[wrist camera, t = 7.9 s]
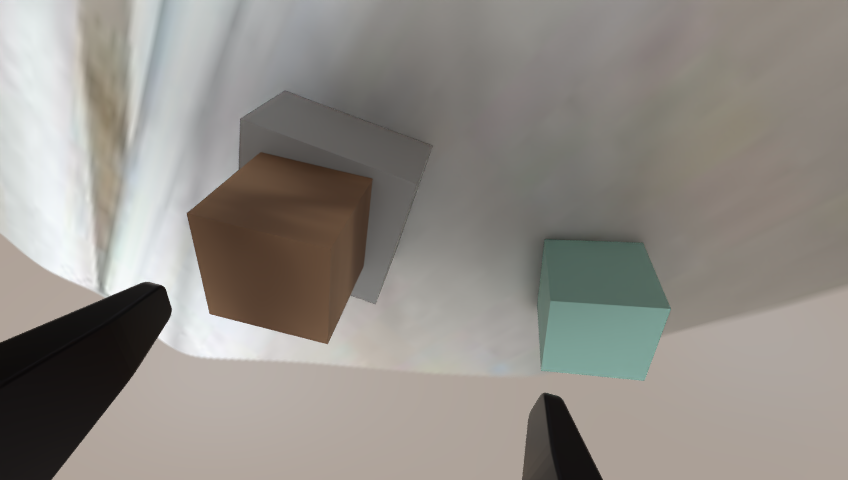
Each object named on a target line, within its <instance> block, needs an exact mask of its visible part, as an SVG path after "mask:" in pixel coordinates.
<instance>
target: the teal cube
mask: <svg viewBox="0 0 848 480" xmlns="http://www.w3.org/2000/svg"><path fill="white" fill-rule="evenodd" d="M537 309H538V326H539V343H540V360H541V371H550V372H560V373H571V374H582V375H592V376H601V377H612V378H622V379H632V380H642V381H644V380H645V377H646V375H647V372H648V369H649V366H650V364H651V361H652V359H653V356H654V353H655V350H656V348H657V345H658V342H659V340H660V337H661V334H662V332H663V329H664V326H665V324H666V321H667V318H668V316H669V313H670V310H671V308H670V306H669V303H668V301H667V299H666V296H665V294H664V291H663V289H662V287H661V284H660V282H659V280H658V277H657V275H656V273H655V270H654V268H653V266H652V263H651V261H650V258H649V256H648V254H647V251H646V249H645V247H644V244H643V243H635V242H607V241H580V240H553V239H545V240H544V249H543V258H542V267H541V276H540V285H539V294H538V303H537Z"/></svg>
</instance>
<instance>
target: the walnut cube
mask: <svg viewBox="0 0 848 480" xmlns="http://www.w3.org/2000/svg"><path fill="white" fill-rule="evenodd" d="M372 180H373V179H372V178H368V177H364V176H360V175H355V174H351V173H347V172H343V171H338V170H334V169H330V168H326V167H322V166H317V165H313V164H309V163H305V162H300V161H296V160H292V159H288V158H284V157H279V156H275V155H271V154H267V153H263V152H260V153H259V154H258V155H256V156H255V157H254V158H253V159H252V160H250V161H249V162H248V163H247V164H246V165H244V166H243V167H242V168H241V169H240V170H238V171H237V172H236V173H235V174H234V175H232V176H231V177H230V178H229V179H228V180H226V181H225V182H224V183H223V184H221V185H220V186H219V187H218V188H217V189H215V190H214V191H213V192H212V193H211V194H209V195H208V196H207V197H206V198H205V199H203V200H202V201H201V202H200V203H199V204H197V205H196V206H195V207H194V208H193V209H191V210H190V211H189V212H188V213H187V217H188V221H189V226H190V230H191V234H192V239H193V243H194V247H195V252H196V256H197V261H198V265H199V269H200V274H201V278H202V282H203V287H204V291H205V295H206V300H207V304H208V309H209V313H210V314H212V315H216V316H220V317H224V318H228V319H231V320H235V321H239V322H243V323H247V324H251V325H255V326H259V327H263V328H267V329H271V330H274V331H278V332H282V333H286V334H290V335H294V336H298V337H302V338H306V339H310V340H314V341H317V342H321V343H325V344H328V342H329V340H330V338H331V336H332V334H333V332H334V329H335V327H336V325H337V323H338V321H339V319H340V316H341V314H342V312H343V310H344V308H345V306H346V304H347V301H348V299H349V297H350V295H351V293H352V291H353V288H354V286H355V284H356V282H357V280H358V278H359V275H360V273H361V271H362V269H363V267H364V260H365V250H366V240H367V230H368V220H369V210H370V200H371V190H372Z"/></svg>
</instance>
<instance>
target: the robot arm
mask: <svg viewBox="0 0 848 480" xmlns="http://www.w3.org/2000/svg"><path fill="white" fill-rule="evenodd" d="M171 312H172V308H171V305H170V301H169V298H168V295H167V292H166V289H165V287H163V286H162V285H159V284H155V283H151V282H143V283H140V284H138V285H135V286H133V287H131V288H128V289H126V290H124V291H121V292H119V293H116V294H114V295H112V296H109V297H107V298H105V299H102V300H100V301H98V302H95V303H93V304H90V305H88V306H86V307H83V308H81V309H79V310H76V311H74V312H71V313H69V314H67V315H64V316H62V317H60V318H57V319H55V320H53V321H50V322H48V323H45V324H43V325H41V326H38V327H36V328H34V329H31V330H29V331H26V332H24V333H22V334H20V335H17V336H15V337H12V338H10V339H8V340H6V341H3V342H0V480H52V478H53V477H54V476H55V475H56V473H57V472H58V471H59V469H60V468H61V467H62V465H63V464H64V463H65V462H66V461H67V459H68V458H69V457H70V455H71V454H72V453H73V452H74V450H75V449H76V448H77V447H78V445H79V444H80V443H81V442H82V440H83V439H84V438H85V436H86V435H87V434H88V432H89V431H90V430H91V429H92V427H93V426H94V425H95V424H96V422H97V421H98V420H99V418H100V417H101V416H102V415H103V413H104V412H105V411H106V410H107V408H108V407H109V406H110V404H111V403H112V402H113V401H114V399H115V398H116V397H117V396H118V394H119V393H120V392H121V390H122V389H123V388H124V387H125V385H126V384H127V383H128V381H129V380H130V379H131V377H132V376H133V375H134V373H135V372H136V370H137V369H138V367H139V366H140V364H141V363H142V361H143V359H144V358H145V356H146V355H147V353H148V351H149V350H150V348H151V347H152V345H153V344H154V342H155V341H156V339H157V337H158V336H159V334H160V333H161V331H162V330H163V328H164V326H165V325H166V323H167V322H168V320H169V318H170V316H171ZM522 480H603V479H602V477H601V475H600V473H599V471H598V469H597V467H596V465H595V463H594V461H593V459H592V457H591V455H590V453H589V451H588V449H587V447H586V445H585V443H584V441H583V439H582V437H581V435H580V433H579V431H578V429H577V427H576V425H575V423H574V421H573V419H572V417H571V415H570V413H569V411H568V409H567V407H566V405H565V403H564V401H563V400H562V398H560V397H559V396H556V395H552V394H549V393H543V394H541V395H540V397H539V398H538V400H537V402H536V403H535V405H534V407H533V408H532V410H531V412H530V414H529V419H528V427H527V438H526V447H525V457H524V467H523V477H522Z"/></svg>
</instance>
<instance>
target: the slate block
mask: <svg viewBox="0 0 848 480" xmlns="http://www.w3.org/2000/svg"><path fill="white" fill-rule="evenodd" d="M431 149H432V146H431V145H429V144H426V143H423V142H421V141H418V140H415V139H413V138H410V137H407V136H405V135H402V134H399V133H397V132H394V131H391V130H389V129H386V128H383V127H381V126H378V125H375V124H373V123H370V122H367V121H365V120H362V119H359V118H357V117H354V116H351V115H349V114H346V113H343V112H341V111H338V110H335V109H333V108H330V107H327V106H325V105H322V104H319V103H317V102H314V101H311V100H309V99H306V98H303V97H301V96H298V95H295V94H293V93H290V92H287V91H283V92H282V93H280V94H279V95H277V96H276V97H274V98H272V99H271V100H269V101H268V102H266V103H265V104H263V105H261V106H260V107H258V108H257V109H255V110H254V111H252V112H250V113H249V114H247V115H246V116H244V117H243V118H241V119H240V146H239V170H240V169H241V168H242V167H243V166H244V165H246V164H247V163H248V162H249V161H250V160H252V159H253V158H254V157H255V156H256V155H258V154H259V153H260V152H263V153H267V154H271V155H275V156H279V157H284V158H288V159H292V160H296V161H300V162H305V163H309V164H313V165H317V166H322V167H326V168H330V169H334V170H338V171H343V172H347V173H351V174H355V175H360V176H364V177H368V178H372V179H373V180H372V190H371V200H370V210H369V220H368V230H367V240H366V250H365V260H364V267H363V269H362V271H361V273H360V275H359V278H358V280H357V282H356V284H355V286H354V288H353V291H352V293H351V296H353V297H356V298H359V299H362V300H365V301H367V302H370V303H373V304H376V302H377V299H378V296H379V294H380V291H381V289H382V286H383V283H384V281H385V278H386V276H387V273H388V270H389V268H390V265H391V263H392V260H393V257H394V255H395V252H396V249H397V246H398V243H399V240H400V237H401V235H402V232H403V229H404V226H405V223H406V220H407V218H408V215H409V212H410V209H411V206H412V203H413V201H414V198H415V195H416V192H417V189H418V186H419V183H420V181H421V178H422V175H423V172H424V169H425V166H426V164H427V161H428V158H429V155H430V152H431Z"/></svg>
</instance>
